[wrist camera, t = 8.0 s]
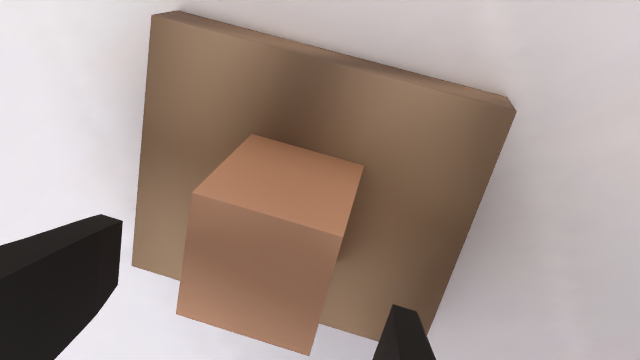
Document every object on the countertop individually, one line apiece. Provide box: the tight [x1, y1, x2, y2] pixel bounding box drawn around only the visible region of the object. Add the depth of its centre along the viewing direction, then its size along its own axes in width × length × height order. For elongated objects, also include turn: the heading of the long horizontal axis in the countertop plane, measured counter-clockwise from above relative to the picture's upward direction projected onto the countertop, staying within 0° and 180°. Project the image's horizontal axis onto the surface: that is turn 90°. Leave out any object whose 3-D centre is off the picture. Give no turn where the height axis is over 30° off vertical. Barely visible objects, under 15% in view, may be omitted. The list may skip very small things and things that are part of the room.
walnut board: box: [132, 11, 517, 342], centre depth 19 cm, size 12×10×2 cm
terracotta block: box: [176, 134, 364, 356], centre depth 16 cm, size 4×4×5 cm
